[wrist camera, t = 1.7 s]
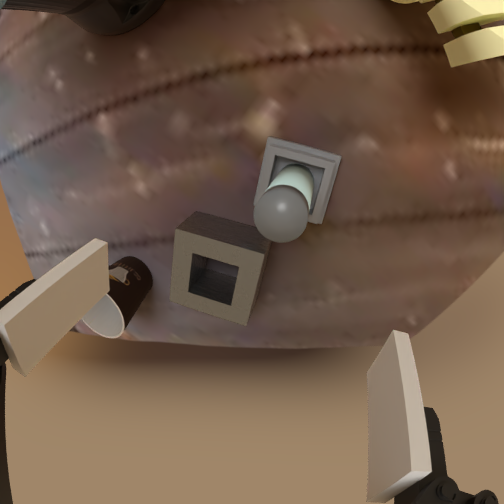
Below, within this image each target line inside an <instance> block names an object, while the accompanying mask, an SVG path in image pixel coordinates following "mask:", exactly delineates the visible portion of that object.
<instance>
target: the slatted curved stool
mask: <svg viewBox="0 0 504 504" xmlns="http://www.w3.org/2000/svg"><path fill="white" fill-rule="evenodd" d="M392 1H394V2H397V3H404V4H407V3H413V2H418V1H419V2H420V3H425V2H430V1H435V2H436V3H437V4H436V5H435V6H434V7H433V8H432V9H431V10H430V11H429V12H427V14H428V16H429V17H430V19H431V21H432V23H433V24H434V26H435V28H436V30H437V32H438V34H440V33H444V32H449V31H452V33H453V35H454V37H455V39H454V40H452V41H450V42H448V43H446V44H444V45H443V46H444V49H445V52H446V54H447V57H448V60H449V63H450V66H451V68H452V67H455V66H459V65H463V64H467V63H471V62H476V61H480V60H484V59H489V58H494V57H498V56H503V55H504V26H497V27H490V28H485V29H481V26H480V25H485V24H488V23H491V22H495V21H499V20H504V0H392Z"/></svg>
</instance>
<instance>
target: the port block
mask: <svg viewBox="0 0 504 504" xmlns="http://www.w3.org/2000/svg"><path fill="white" fill-rule="evenodd" d="M271 243H272V241H271V240H269V239H267V238H266V237H264V236H263V235H262V234H261V233H260V232H259V231H258V229H257V227H253V226H250V225H246V224H242V223H239V222H235V221H231V220H228V219H224V218H221V217H217V216H213V215H210V214H206V213H202V212H198V211H195V212H194V213H193V214H192V215H191V216H190V217H188V218H187V219H186V220H185V221H184V222H183V223H181V224H180V225H179V226H178V227H177V228H176V229H175V239H174V250H173V261H172V274H171V288H170V301H171V302H174V303H177V304H180V305H183V306H186V307H189V308H192V309H194V310H197V311H200V312H203V313H206V314H209V315H212V316H215V317H219V318H222V319H225V320H228V321H231V322H234V323H237V324H241V325H244V326H247V323H248V321H249V318H250V315H251V313H252V310H253V308H254V305H255V303H256V300H257V297H258V293H259V289H260V285H261V281H262V278H263V274H264V270H265V266H266V262H267V258H268V254H269V251H270V247H271ZM207 257H208V258H211V259H215V260H218V261H221V262H225V263H228V264H231V265H235V266H238V267H239V270H238V275H237V278H235V277H232V276H229V275H226V274H222V273H219V272H216V271H213V270H209V269H206V268H205V267H206V260H207Z"/></svg>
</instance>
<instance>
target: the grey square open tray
mask: <svg viewBox="0 0 504 504" xmlns="http://www.w3.org/2000/svg"><path fill="white" fill-rule="evenodd" d="M340 160H341V155H338V154H335V153H332V152H328V151H325V150H321V149H318V148H314V147H311V146H307V145H303V144H299V143H296V142H292V141H288V140H284V139H280V138H276V137H272V136H269V137H268V140H267V144H266V149H265V153H264V158H263V162H262V167H261V171H260V176H259V181H258V185H257V190H256V194H255V199H254V204H253V205H255V206H256V204H257V202H258V201H259V199H260V198H261V197H262V195H263V194H264V192H265V191H266V190H267V188H268V187H269V186H270V184H271V183H272V182H273V180H274V179H275V178H276V176H277V175H278V174H279V172H280V171H281V170H282V168H284V167H285V166H286V165H288V164H292V163H299V164H302V165H305V166H306V167H307V168H309V169H310V171H311V172H312V174H313V176H314V188H313V193H312V199H311V204H310V210H309V215H308V220H307V221H308V222H311V223H314V224H317V223H318V224H322V221H323V218H324V214H325V211H326V208H327V205H328V201H329V198H330V195H331V191H332V188H333V184H334V181H335V177H336V174H337V170H338V167H339V163H340Z"/></svg>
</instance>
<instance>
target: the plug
mask: <svg viewBox="0 0 504 504" xmlns="http://www.w3.org/2000/svg"><path fill="white" fill-rule="evenodd" d="M313 188H314V176H313V174H312V172H311V171H310V169H309V168H307V167H306V166H305V165H302V164H299V163H292V164H288V165H286V166H285V167H284V168H282V170H281V171H280V172H279V174H278V175H277V176H276V178H275V179H274V180H273V182H272V183H271V184H270V186H269V187H268V188H267V190H266V191H265V192H264V194H263V195H262V197H261V198H260V199H259V201H258V202H257V204H256V206H255V209H254V222H255V225H256V227H257V229H258V231H259V232H260V233H261V234H262V235H263V236H264V237H266V238H267V239H269V240H271V241H274V242H280V243H284V242H289V241H292V240H295V239H296V238H298V237H299V236H300V235H301V234H302V233H303V231H304V230H305V228H306V225H307V220H308V215H309V210H310V204H311V199H312V193H313Z"/></svg>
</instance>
